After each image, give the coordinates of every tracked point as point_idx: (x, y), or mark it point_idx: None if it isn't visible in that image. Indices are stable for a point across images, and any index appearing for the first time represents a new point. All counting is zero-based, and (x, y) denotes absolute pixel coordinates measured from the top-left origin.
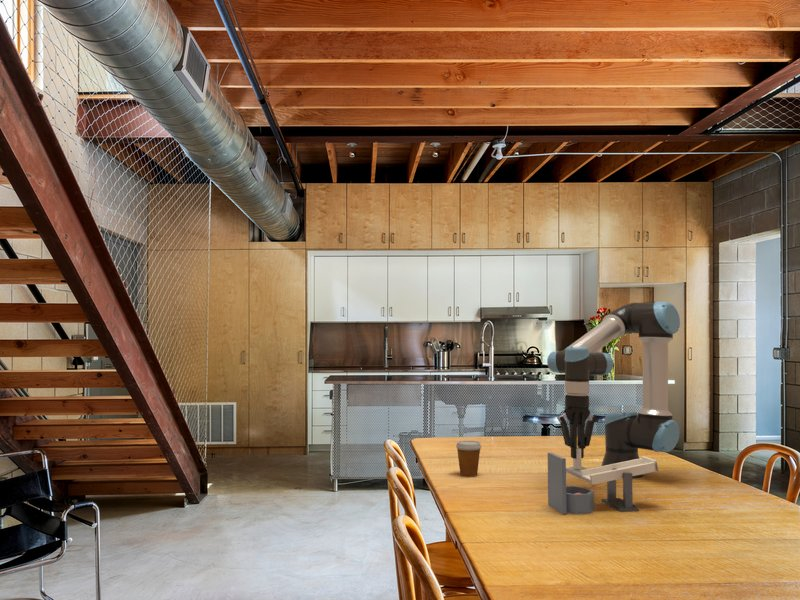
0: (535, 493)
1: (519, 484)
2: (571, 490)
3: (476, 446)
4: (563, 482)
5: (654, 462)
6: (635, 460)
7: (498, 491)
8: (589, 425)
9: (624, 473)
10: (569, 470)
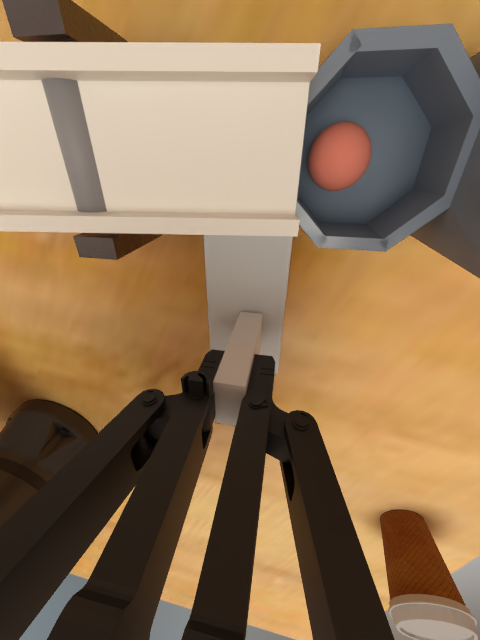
0: (354, 363)
1: (336, 438)
2: (330, 231)
3: (429, 609)
4: None
5: None
6: None
7: (448, 408)
8: (2, 594)
9: (56, 1)
10: (280, 342)
